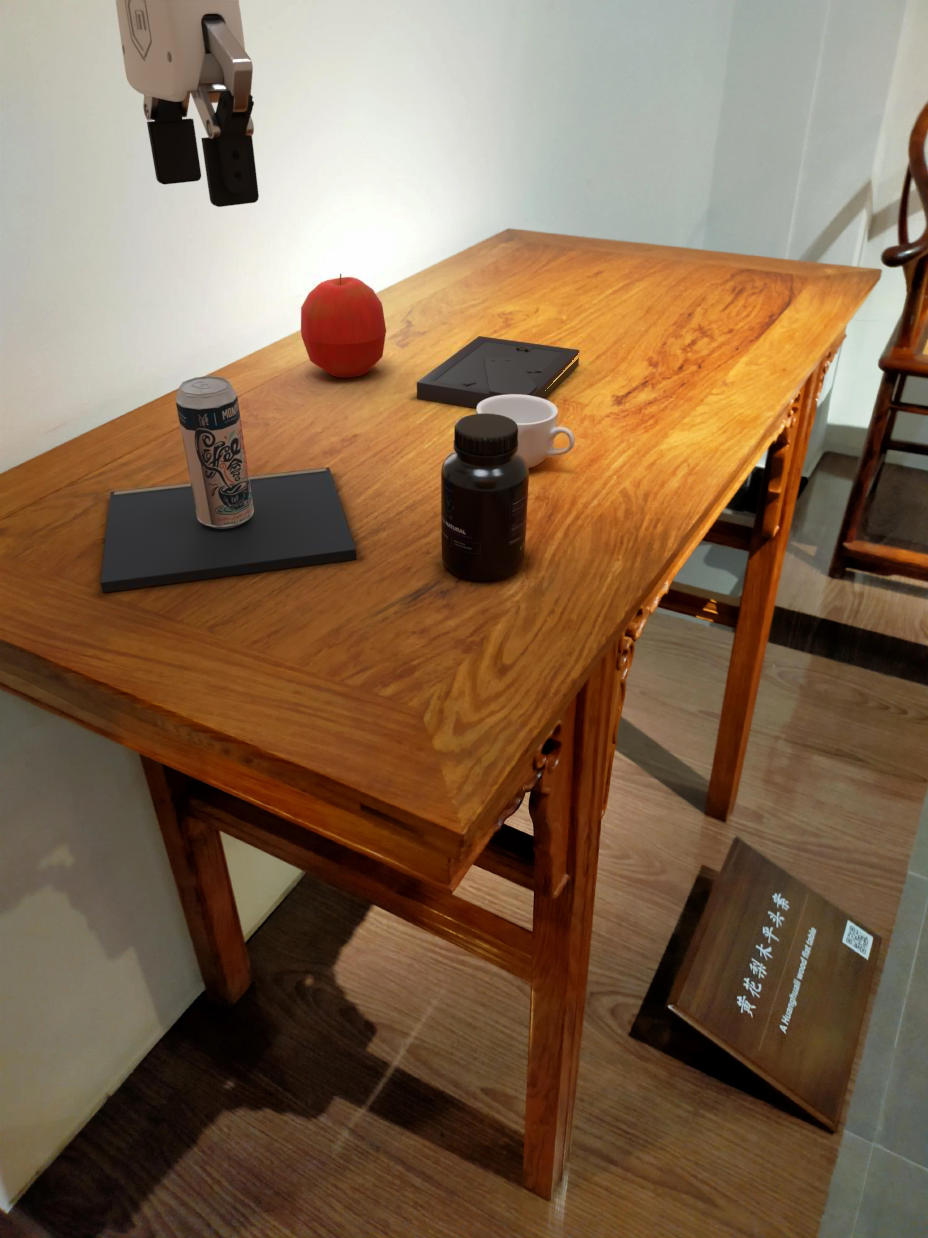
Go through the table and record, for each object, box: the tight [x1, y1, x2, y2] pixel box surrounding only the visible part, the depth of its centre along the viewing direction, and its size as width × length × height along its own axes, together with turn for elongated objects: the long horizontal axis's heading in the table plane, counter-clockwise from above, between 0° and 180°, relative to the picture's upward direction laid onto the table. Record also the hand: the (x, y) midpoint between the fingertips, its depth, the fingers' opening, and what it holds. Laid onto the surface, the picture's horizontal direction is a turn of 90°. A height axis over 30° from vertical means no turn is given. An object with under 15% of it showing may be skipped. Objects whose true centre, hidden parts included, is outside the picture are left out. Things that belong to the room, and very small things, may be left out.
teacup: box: [475, 394, 576, 470], centre depth 91 cm, size 10×8×5 cm
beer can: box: [175, 375, 254, 529], centre depth 78 cm, size 5×5×12 cm
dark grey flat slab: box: [100, 466, 358, 594], centre depth 81 cm, size 20×16×1 cm
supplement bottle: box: [440, 413, 530, 582], centre depth 74 cm, size 7×7×12 cm
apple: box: [300, 273, 387, 379], centre depth 110 cm, size 10×10×12 cm
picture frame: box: [416, 335, 580, 409], centre depth 110 cm, size 13×2×18 cm
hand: (206, 192), depth 65 cm, fingers open, 9 cm apart
